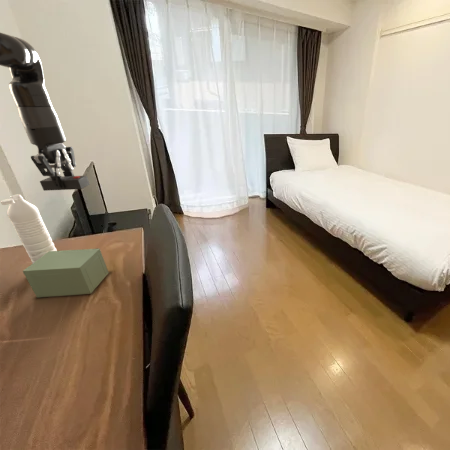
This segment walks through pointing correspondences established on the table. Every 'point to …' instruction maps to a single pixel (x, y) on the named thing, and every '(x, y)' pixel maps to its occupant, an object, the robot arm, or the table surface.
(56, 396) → the table surface
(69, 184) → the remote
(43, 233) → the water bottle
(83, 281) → the stand
